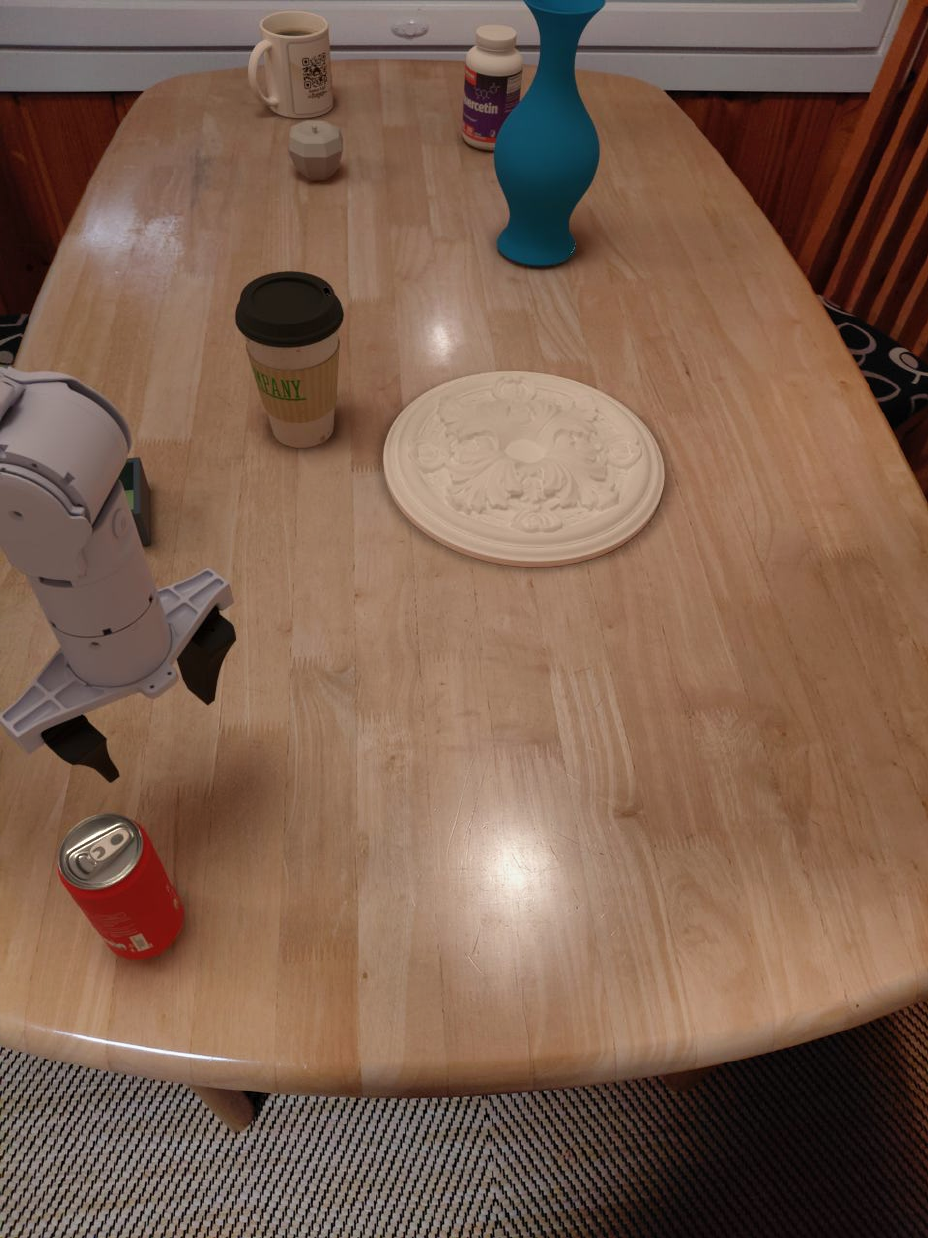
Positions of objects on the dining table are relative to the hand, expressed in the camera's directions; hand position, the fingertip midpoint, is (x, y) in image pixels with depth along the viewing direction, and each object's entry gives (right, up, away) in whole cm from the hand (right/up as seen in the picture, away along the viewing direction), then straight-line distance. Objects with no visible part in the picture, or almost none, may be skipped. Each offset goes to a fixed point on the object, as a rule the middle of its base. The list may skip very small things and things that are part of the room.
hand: (155, 731), depth 60 cm
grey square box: (-13, +16, +26) cm, 33 cm away
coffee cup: (+3, +27, +35) cm, 44 cm away
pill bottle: (+24, +78, +77) cm, 112 cm away
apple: (0, +68, +69) cm, 97 cm away
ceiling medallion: (+26, +23, +34) cm, 48 cm away
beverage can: (-1, -14, +3) cm, 14 cm away
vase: (+29, +54, +59) cm, 85 cm away
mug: (-6, +85, +82) cm, 118 cm away
